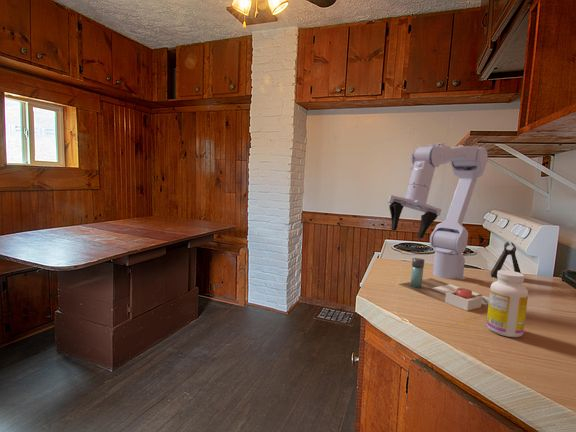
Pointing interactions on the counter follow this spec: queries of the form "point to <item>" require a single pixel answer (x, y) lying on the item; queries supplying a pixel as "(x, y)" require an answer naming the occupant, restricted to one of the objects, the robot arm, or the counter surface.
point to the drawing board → (440, 290)
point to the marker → (417, 272)
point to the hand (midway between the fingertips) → (406, 234)
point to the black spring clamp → (502, 260)
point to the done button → (464, 293)
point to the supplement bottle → (507, 304)
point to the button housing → (463, 301)
